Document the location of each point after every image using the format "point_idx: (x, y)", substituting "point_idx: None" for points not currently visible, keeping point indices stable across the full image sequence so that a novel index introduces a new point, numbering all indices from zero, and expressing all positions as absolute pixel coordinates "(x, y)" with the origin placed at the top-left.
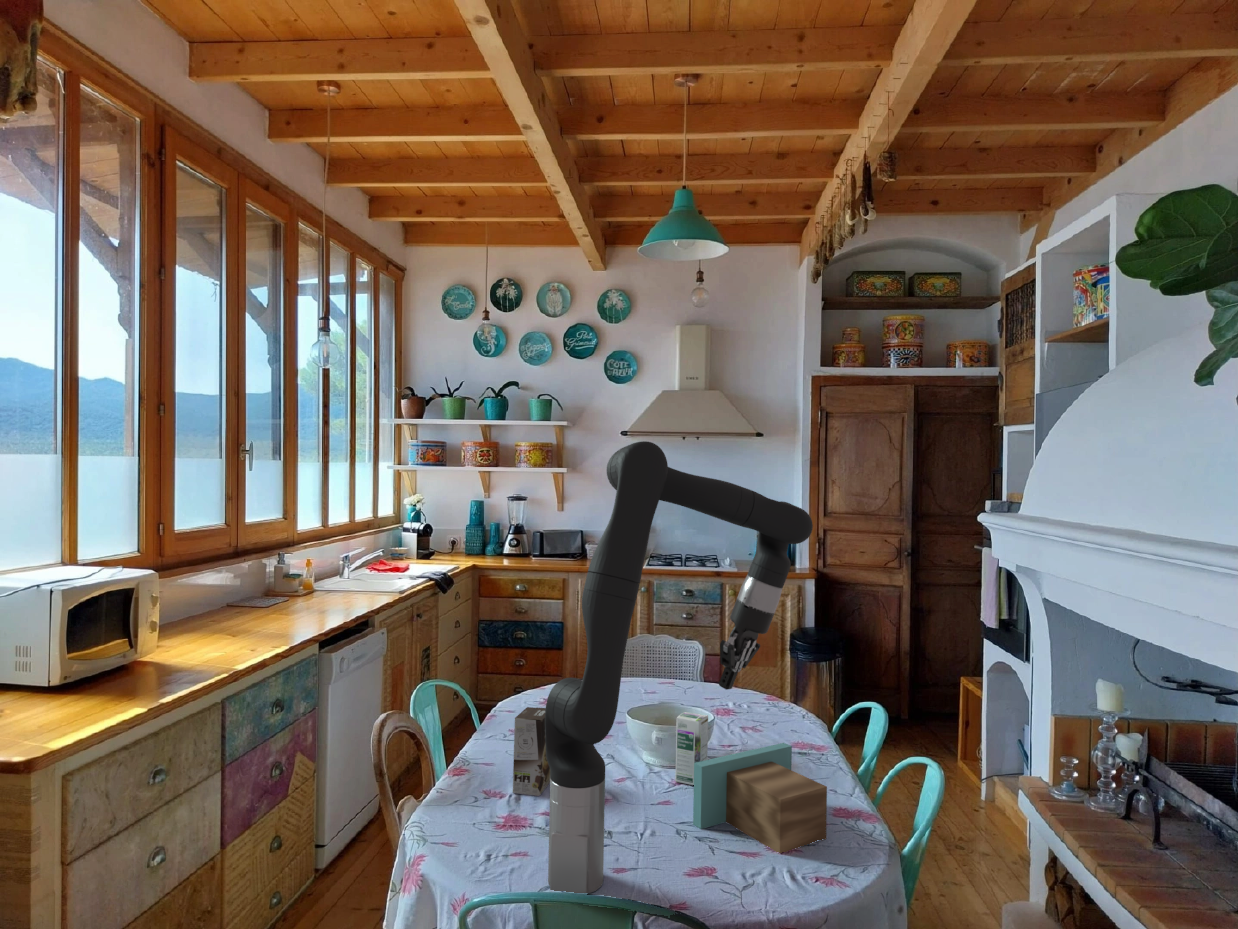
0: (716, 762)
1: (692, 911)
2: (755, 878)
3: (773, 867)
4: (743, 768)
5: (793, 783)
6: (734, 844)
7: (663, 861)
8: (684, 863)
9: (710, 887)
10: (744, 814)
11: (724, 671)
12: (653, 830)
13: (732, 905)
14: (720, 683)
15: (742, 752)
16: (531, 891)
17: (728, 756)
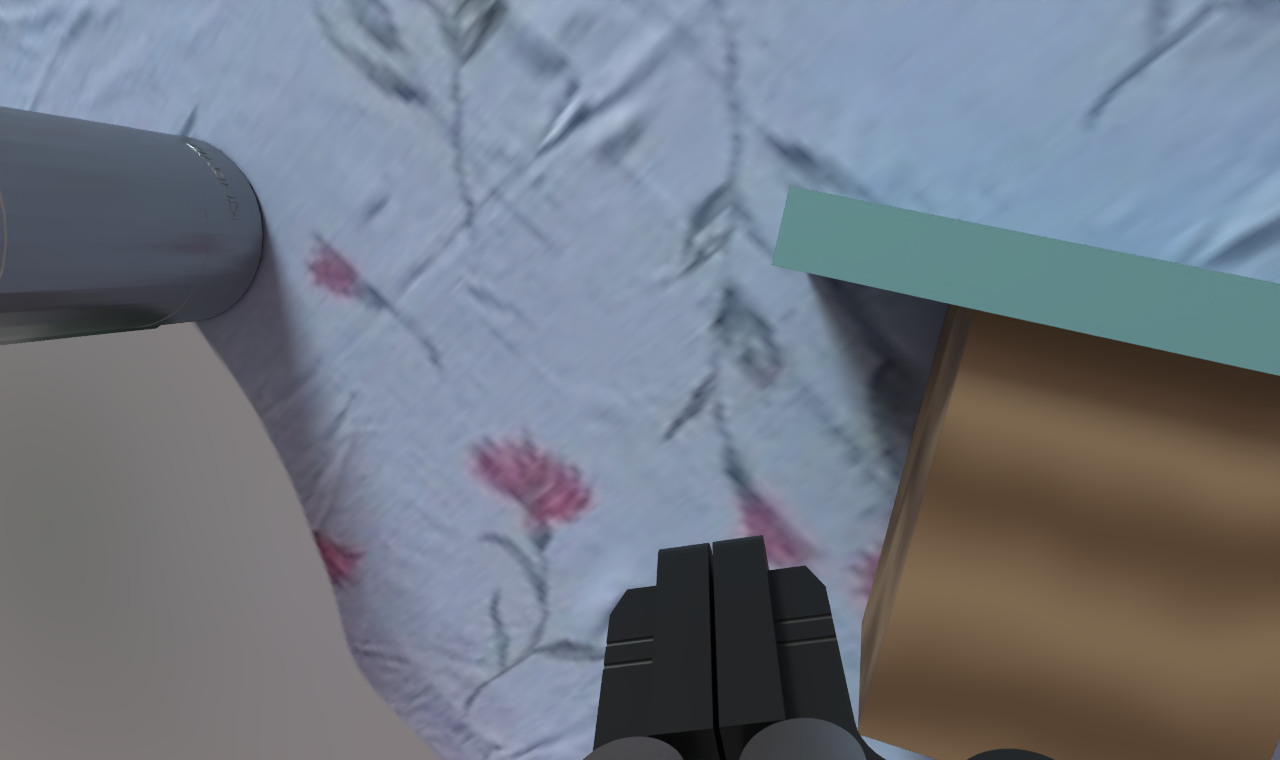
0: (906, 281)
1: (339, 602)
2: None
3: None
4: (1116, 343)
5: (1126, 689)
6: (796, 447)
7: (485, 337)
8: (531, 401)
9: (478, 564)
10: (921, 433)
11: (596, 740)
12: (640, 125)
13: (449, 673)
14: (629, 600)
15: (1228, 283)
16: None
17: (1071, 264)
